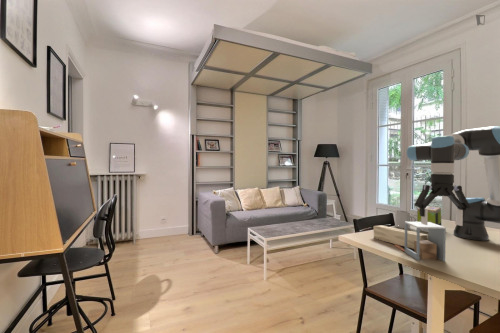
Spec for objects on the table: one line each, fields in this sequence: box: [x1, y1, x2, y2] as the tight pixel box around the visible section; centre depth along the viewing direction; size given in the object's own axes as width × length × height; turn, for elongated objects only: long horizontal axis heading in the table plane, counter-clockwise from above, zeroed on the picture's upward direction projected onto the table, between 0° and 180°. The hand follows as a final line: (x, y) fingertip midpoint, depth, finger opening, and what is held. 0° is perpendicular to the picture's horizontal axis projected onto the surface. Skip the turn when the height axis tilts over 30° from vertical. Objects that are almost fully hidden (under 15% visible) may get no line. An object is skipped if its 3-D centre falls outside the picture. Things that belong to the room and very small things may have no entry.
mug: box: [394, 210, 417, 230], centre depth 159 cm, size 12×8×11 cm
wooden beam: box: [373, 225, 428, 249], centre depth 125 cm, size 6×26×7 cm, turn 22°
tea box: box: [416, 205, 443, 233], centre depth 155 cm, size 15×10×15 cm, turn 130°
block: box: [414, 240, 437, 261], centre depth 109 cm, size 6×6×7 cm
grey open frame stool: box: [394, 221, 447, 262], centre depth 114 cm, size 12×19×15 cm, turn 176°
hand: (441, 224), depth 98 cm, fingers open, 13 cm apart
